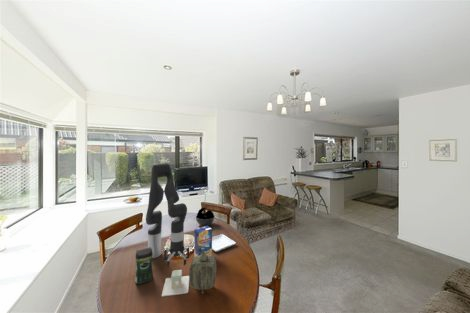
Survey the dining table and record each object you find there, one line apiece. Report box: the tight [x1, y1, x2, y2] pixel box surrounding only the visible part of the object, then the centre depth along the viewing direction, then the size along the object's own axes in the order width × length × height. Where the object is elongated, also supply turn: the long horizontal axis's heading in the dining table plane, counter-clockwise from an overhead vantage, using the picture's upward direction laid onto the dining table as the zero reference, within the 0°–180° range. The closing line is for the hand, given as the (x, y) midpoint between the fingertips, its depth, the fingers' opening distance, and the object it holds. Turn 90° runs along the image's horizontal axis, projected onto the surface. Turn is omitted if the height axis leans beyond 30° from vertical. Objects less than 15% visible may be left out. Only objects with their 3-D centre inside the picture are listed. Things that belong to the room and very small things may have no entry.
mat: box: [161, 275, 190, 298], centre depth 105 cm, size 14×14×1 cm
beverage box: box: [193, 225, 213, 258], centre depth 132 cm, size 7×11×22 cm, turn 129°
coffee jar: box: [134, 247, 154, 285], centre depth 110 cm, size 10×8×19 cm
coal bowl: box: [195, 207, 216, 227], centre depth 194 cm, size 20×20×19 cm
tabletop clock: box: [188, 247, 218, 295], centre depth 101 cm, size 14×9×25 cm, turn 92°
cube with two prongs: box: [170, 269, 183, 289], centre depth 105 cm, size 5×5×7 cm
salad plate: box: [212, 233, 236, 253], centre depth 153 cm, size 21×21×3 cm
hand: (176, 265), depth 105 cm, fingers open, 8 cm apart
